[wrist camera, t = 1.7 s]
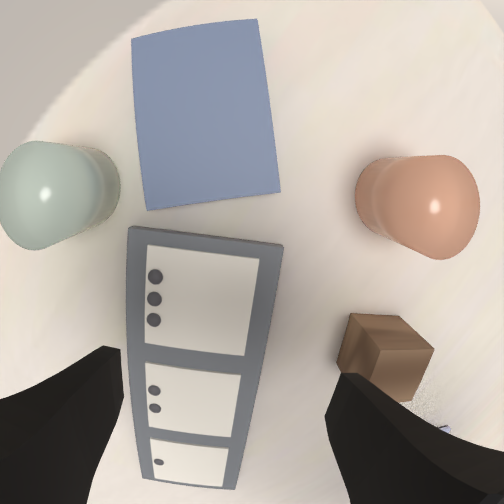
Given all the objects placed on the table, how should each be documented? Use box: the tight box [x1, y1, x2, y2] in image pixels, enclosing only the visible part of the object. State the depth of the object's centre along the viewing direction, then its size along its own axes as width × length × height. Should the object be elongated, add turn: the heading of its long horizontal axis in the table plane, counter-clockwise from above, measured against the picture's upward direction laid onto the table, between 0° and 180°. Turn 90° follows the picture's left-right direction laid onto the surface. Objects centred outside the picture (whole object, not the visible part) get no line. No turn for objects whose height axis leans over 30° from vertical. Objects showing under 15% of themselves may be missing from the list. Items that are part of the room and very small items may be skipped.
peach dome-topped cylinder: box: [355, 155, 480, 260], centre depth 15 cm, size 5×5×6 cm
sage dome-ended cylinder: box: [0, 141, 120, 250], centre depth 14 cm, size 5×5×6 cm
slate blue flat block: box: [131, 19, 281, 211], centre depth 16 cm, size 10×7×2 cm
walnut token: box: [336, 313, 434, 402], centre depth 18 cm, size 4×4×5 cm
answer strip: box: [126, 226, 284, 490], centre depth 20 cm, size 24×9×1 cm, turn 172°
